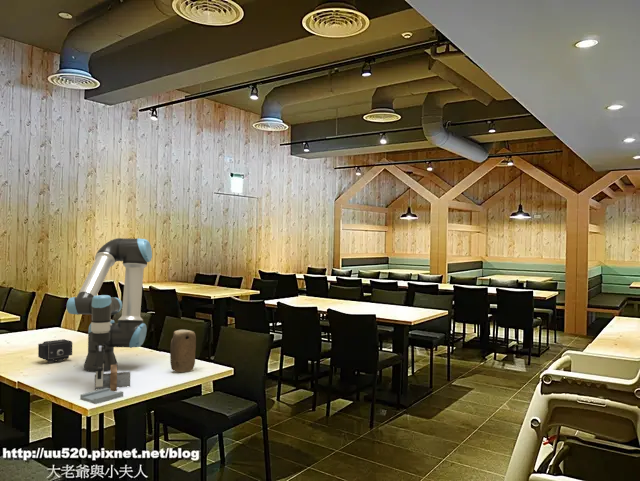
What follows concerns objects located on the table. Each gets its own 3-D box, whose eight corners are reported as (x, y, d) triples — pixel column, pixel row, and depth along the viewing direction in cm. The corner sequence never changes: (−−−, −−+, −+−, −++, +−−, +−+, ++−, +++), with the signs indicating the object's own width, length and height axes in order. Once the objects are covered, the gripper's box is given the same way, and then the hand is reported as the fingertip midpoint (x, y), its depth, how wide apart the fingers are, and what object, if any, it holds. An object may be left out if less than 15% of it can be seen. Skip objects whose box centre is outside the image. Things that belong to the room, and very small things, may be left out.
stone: (175, 374, 238) (176, 332, 239) (167, 371, 243) (168, 330, 244) (197, 370, 247) (198, 329, 247) (189, 368, 252) (190, 327, 252)
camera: (63, 360, 269) (34, 361, 257) (66, 338, 270) (37, 339, 258) (73, 363, 262) (43, 365, 250) (76, 341, 263) (46, 341, 252)
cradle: (107, 392, 208) (107, 387, 208) (123, 396, 202) (123, 391, 203) (80, 399, 198) (80, 394, 198) (95, 403, 192) (96, 399, 192)
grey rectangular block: (129, 384, 221) (129, 371, 221) (130, 386, 217) (130, 374, 217) (94, 387, 215) (94, 374, 215) (94, 390, 211) (94, 377, 211)
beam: (116, 381, 224) (116, 364, 224) (116, 390, 210) (117, 372, 210) (110, 382, 223) (110, 364, 223) (110, 391, 209) (110, 372, 209)
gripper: (110, 336, 205) (108, 389, 204) (110, 327, 227) (109, 375, 227) (90, 336, 202) (88, 390, 202) (92, 327, 224) (90, 376, 224)
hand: (99, 382), depth 214 cm, fingers open, 12 cm apart
